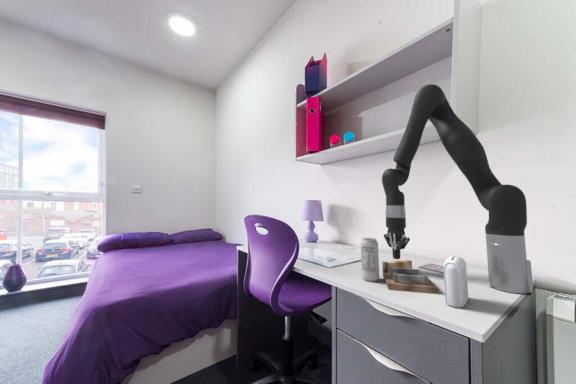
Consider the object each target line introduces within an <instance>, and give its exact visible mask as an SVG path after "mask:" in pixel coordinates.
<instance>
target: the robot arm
mask: <svg viewBox="0 0 576 384" xmlns="http://www.w3.org/2000/svg"><path fill="white" fill-rule="evenodd" d="M446 96H447V95H446V94H445V92H444V91H443V89H442V88H441V87H440V86H439V85H436V84H434V83H433V84H431V83H430V84H426V85H424V86H422V87H421V88H419V89H418V91H417V92H416V94H415V96H414V99H413V103H412V107H411V111H410V114H409V119H408V121H407V124H406V127H405V130H404V132H403V135H402V136H401V140H400V142H399V144H398V146H397V148H396V151H395V153H394V156H393V161H394V163H396V166H395V168H387V169H385V170H384V171H383V173H382V176H381V183H382V187H383V192H384V193H385V205H386V206H385V227H386V228H387V233H384V234H383V238H384V240H385V242H386V244H387V246H388V247H389V248H391V249H392V251H391V252H392V259H394V260H400V259H401V250H404V249H405V248H406V246H407V245H408V243H409V242H410V240H411V239H410V237H409V236H408V237H407V236H406V232H405V229H406V228H407V220H406V219H407V217H406V216H407V215H406V212H407V211H406V204H405V203H406V202H405V193H404V192H402V191H401V190H400V188H399V187H401V186H404V185H405V183H407V182H408V180H409V177H410V173H411V168H412V162H413V160H414V158H415V157H416V154H417V152H418V149H419V147H420V143H421V140H422V137H423V132H424V130H425V127H426V125H427V122H428V121H429V122H430V123H431V124H432V125H433V126H434V127H435V130H436V131H437V134H438V138H439V140H440V141H441V144H442V145H443V147H444V149H445V151H446V152H447V153H448V155H449V157H450V158H451V160H452V161H453V162H454V164H455V165H456V166H457V167H458V169H459V170H460V172H461V173H462V174H463V176H464V177H465V178H466V180H467V181H468V182H469V185H470V186H471V188H472V189H473V192H474V193H475V196H476V197H477V200H478V202H479V203H480V204H481V207H483V209H485V210H487V211H488V221H487V223H486V224H485V227H484V228H485V229H484V231H485V232H484V233H485V244H486V258H487V259H486V260H487V271H488V273H487V274H488V285H489V287H490V288H493V289H496V290H498V291H502V292H508V293H514V294H529V293H530V294H534V284H533V275H532V274H533V273H532V271H533V270H532V261H531V260H529V259H528V258H527V247H526V246H527V245H526V235H525V230H526V228H527V225H528V214H527V213H528V212H527V211H528V210H527V209H528V207H527V198H526V195H525V193H524V192H523V190H522V189H520V188H519V187H517V186H515V185H513V184H502V183H501V182H500V181H499V179H498V178H497V177H496V175H494V173H493V170H492V169H491V168H490V164H489V160H488V156H487V153H486V150H485V148H484V145H483V144H482V143H481V142H480V140H479V139H478V137H477V136H476V134H475V133H474V132H473V130H472V129H470V127H469V126H468V125H466V123H465V122H464V121H463V120H462V119H460V118H459V116H457V114H456V113H455V111H454V110H453V108H452V106H451V105H450V102H449V101H448V99H447V97H446Z"/></svg>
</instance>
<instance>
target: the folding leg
mask: <svg viewBox="0 0 576 384" xmlns="http://www.w3.org/2000/svg"><path fill="white" fill-rule="evenodd" d="M381 264H382V274H383V273H390V267H393V268H409V269H413V261H412V260H410V259H402V260H393V261H382V262H381Z"/></svg>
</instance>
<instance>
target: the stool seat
mask: <svg viewBox="0 0 576 384" xmlns="http://www.w3.org/2000/svg"><path fill="white" fill-rule="evenodd" d="M382 278H383V280H384V282H385V284H386V287H387V290H390V291H391V290H393V291H403V292H412V293H415V292H416V293H426V294H437V295H439V294H440V289H439V288H440V287H439V286H438V285H436V284H435V283H434V282H433V281H432V280H431V279H430V278H429V276H428V275H426V273H424V271H422V270H421V269H420V268H412V269H409V268H393V267H390V273H383V272H382Z"/></svg>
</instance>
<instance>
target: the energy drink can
mask: <svg viewBox="0 0 576 384" xmlns="http://www.w3.org/2000/svg"><path fill="white" fill-rule="evenodd" d="M361 239H362V240H361V241H360V264H361V265H360V267H361V271H360V272H361V279H363V281H365V282H369V283H370V282H371V283H376V282H378V281H379V280H380V261H379V259H380V258H379V242H378V240H377V237H361Z"/></svg>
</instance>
